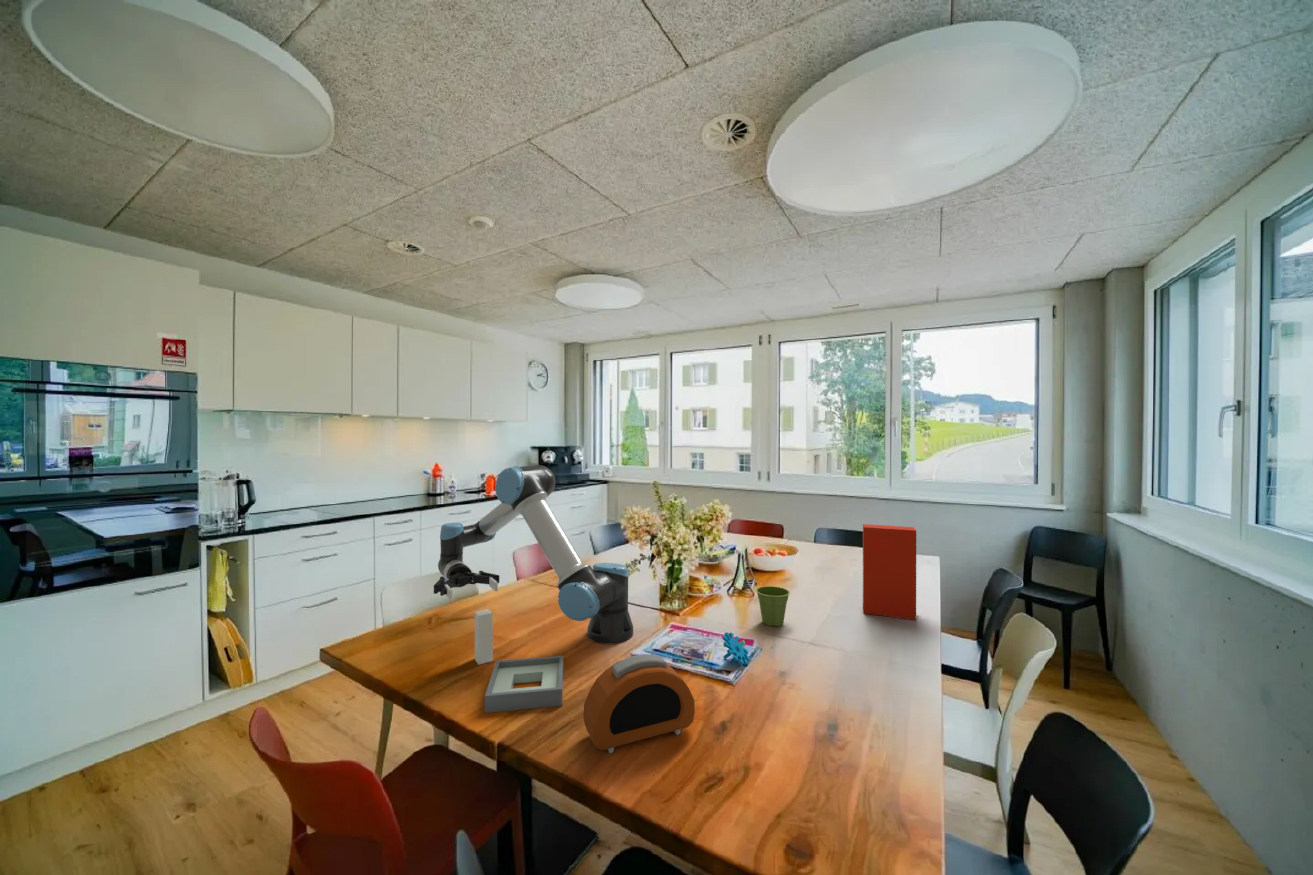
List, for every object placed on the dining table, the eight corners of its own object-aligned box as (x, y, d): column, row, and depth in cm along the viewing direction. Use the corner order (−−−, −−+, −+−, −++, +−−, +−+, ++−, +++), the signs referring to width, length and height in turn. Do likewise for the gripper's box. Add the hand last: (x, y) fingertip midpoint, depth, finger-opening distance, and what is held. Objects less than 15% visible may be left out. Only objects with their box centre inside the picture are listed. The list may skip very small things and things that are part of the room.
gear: (741, 666, 133) (720, 634, 138) (727, 678, 135) (706, 645, 140) (757, 657, 142) (736, 627, 147) (743, 667, 144) (723, 637, 149)
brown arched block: (593, 760, 97) (593, 677, 97) (582, 734, 105) (582, 659, 105) (696, 731, 107) (696, 656, 107) (678, 710, 115) (678, 640, 115)
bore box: (563, 669, 135) (563, 655, 135) (562, 705, 117) (562, 689, 117) (496, 675, 131) (496, 660, 131) (484, 712, 114) (484, 695, 114)
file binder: (862, 606, 185) (862, 523, 185) (913, 612, 179) (913, 526, 179) (863, 613, 177) (863, 527, 177) (916, 620, 171) (916, 530, 171)
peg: (488, 655, 143) (488, 608, 143) (492, 660, 140) (492, 612, 140) (474, 659, 141) (474, 611, 141) (478, 664, 138) (478, 615, 137)
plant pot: (794, 620, 171) (794, 589, 171) (783, 632, 161) (784, 598, 161) (762, 614, 177) (762, 583, 177) (750, 624, 167) (750, 592, 167)
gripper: (494, 578, 173) (514, 595, 156) (417, 591, 159) (430, 610, 141) (494, 557, 173) (514, 572, 155) (418, 568, 158) (430, 585, 141)
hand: (474, 590), depth 148 cm, fingers open, 13 cm apart
